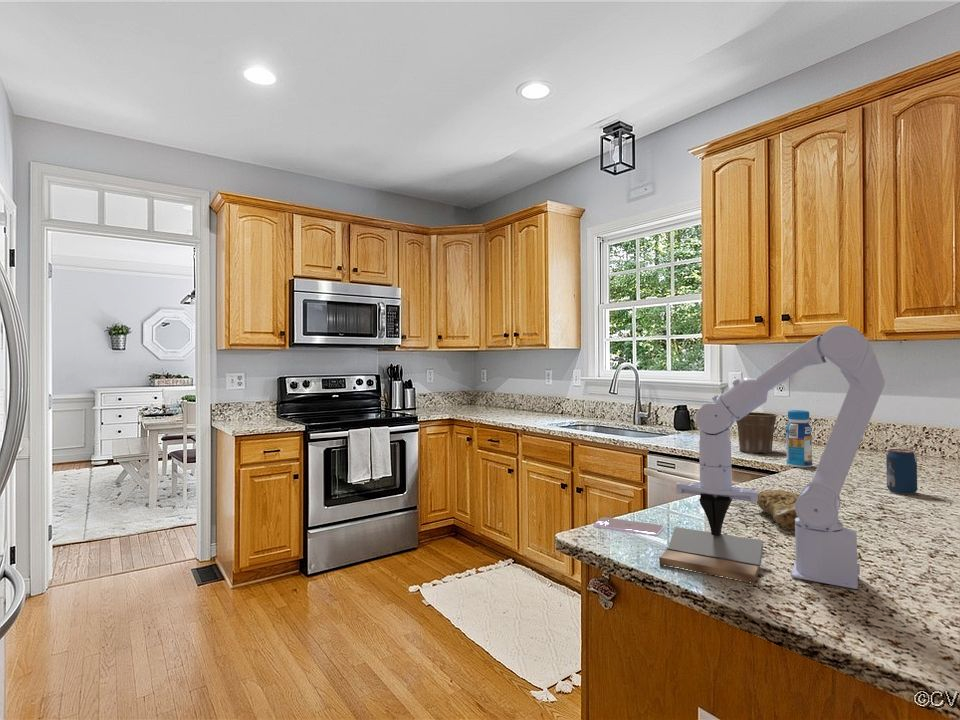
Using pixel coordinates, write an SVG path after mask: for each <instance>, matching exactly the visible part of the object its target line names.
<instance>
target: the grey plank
mask: <svg viewBox="0 0 960 720" xmlns="http://www.w3.org/2000/svg"><path fill="white" fill-rule="evenodd" d="M667 548H672V549H678V550H683V551H689V552H694V553H700V554H706V555H711V556H717V557H722V558H728V559H734V560H739V561H745V562H750V563H756V564H759V571H760V570H761V564H762V557H763V551H764V540H762V539H754V538H749V537H743V536H738V535H737V536H736V535H731V534H730V535H729V534H725V533H724V534H722V533H721V534H720V536H715V535H712V534H711V531H703V530H697V529H692V528H684V527H679V526H674V529H673V532H672V535H671V538H670V542H669V545H668V547H667Z"/></svg>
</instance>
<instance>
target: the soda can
mask: <svg viewBox="0 0 960 720" xmlns="http://www.w3.org/2000/svg"><path fill="white" fill-rule="evenodd" d="M885 456H886V457H885V458H886V459H885V460H886V488H887V489H888V490H889V492H890V493H893V494H897V495H898V494H899V495H905V496H906V495H907V496H908V495H909V496H910V495H915V493H917V491H918V461H917V460H918V459H917V456H916V454H915V451H914V450H910V449H901V448H900V449H899V448H890V449H888V452H887V453H886V455H885Z"/></svg>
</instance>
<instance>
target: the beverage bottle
mask: <svg viewBox="0 0 960 720" xmlns="http://www.w3.org/2000/svg"><path fill="white" fill-rule="evenodd" d="M787 418H788V419H787V420H789V422H788V423H787V424H786V426H785V430H786V433H785V440H786V441H785V443H786V445H785V447H786V460H785V461H786V465H787V466H789V467H791V468H792V467H794V468H801V469H802V468H805V469H806V468H811V467H813V435H812V432H813V430H812V429H813V428H812V426H811V425H810V423H809V422H808V421H810V411H808V410H803V409H802V410H801V409H800V410H796V409H795V410H794V409H793V410H792V409H791V410H790V409H789V410H788V411H787Z"/></svg>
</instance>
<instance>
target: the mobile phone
mask: <svg viewBox="0 0 960 720" xmlns="http://www.w3.org/2000/svg"><path fill="white" fill-rule="evenodd" d="M608 520H609V521H608ZM605 521H607V522H605ZM602 522H604V523H602ZM592 526H593V527H594V528H598V529H599V528H600V529H605V530H610V531H611V530H613V531H620V532H627V533H633V534H638V535H647V536H653V537H654V536H655V537H657V535H658V536H660V534H662V532H663V531H664V530H665V526H664V525H663V524H655V523H648V522H643V521H642V522H640V521H634V520H627V519H620V518H613V517H605V516H604V517H603V516H602V517H600V518H599V519H597V520H596V521H595V522H594V523H593V524H592Z"/></svg>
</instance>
